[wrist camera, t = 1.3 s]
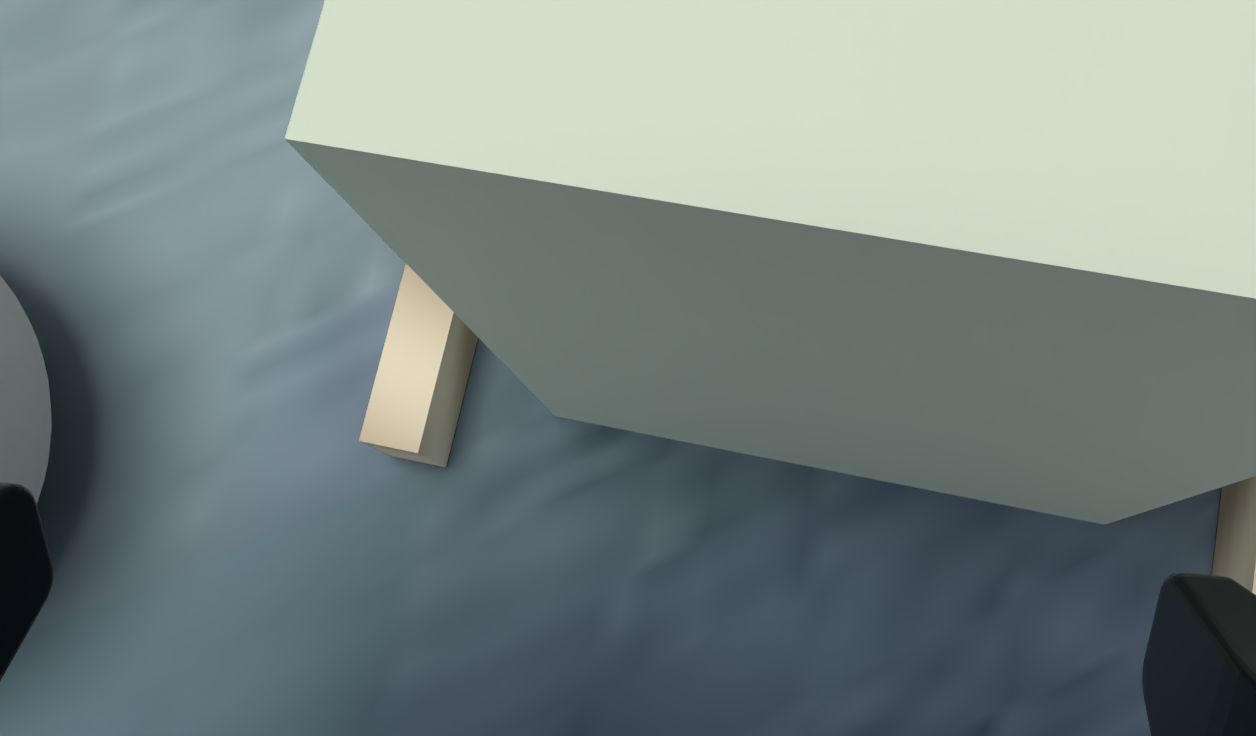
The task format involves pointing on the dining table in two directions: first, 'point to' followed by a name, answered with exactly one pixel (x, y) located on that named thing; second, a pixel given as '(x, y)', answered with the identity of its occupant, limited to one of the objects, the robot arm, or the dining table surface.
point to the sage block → (833, 224)
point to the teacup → (22, 399)
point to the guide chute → (438, 373)
